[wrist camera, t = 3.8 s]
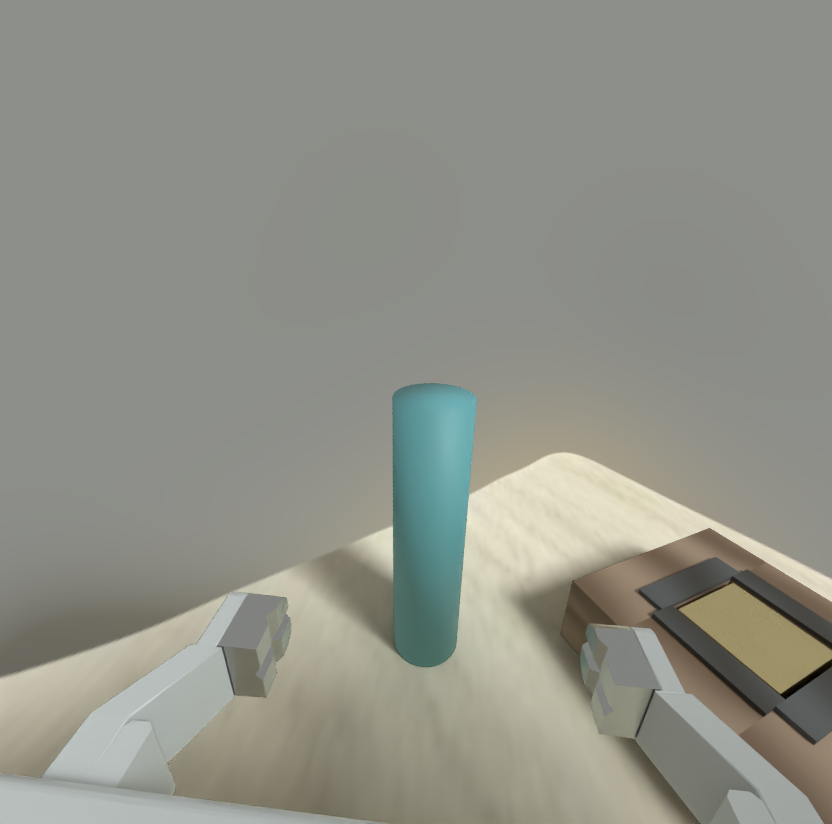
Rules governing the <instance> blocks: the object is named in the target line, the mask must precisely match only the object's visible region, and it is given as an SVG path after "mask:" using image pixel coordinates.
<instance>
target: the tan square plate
mask: <svg viewBox="0 0 832 824" xmlns="http://www.w3.org/2000/svg"><path fill="white" fill-rule="evenodd" d="M678 611H679V612H681V613H682V614H683V615H684V616H685V617H687V618H688V619H689V620H690V621H691V622H693V623H694V624H695V625H696V626H697V627H699V628H700V629H701V630H702V631H703V632H705V633H706V634H707V635H708V636H710V637H711V638H712V639H713V640H714V641H716V642H717V643H718V644H719V645H720V646H722V647H723V648H724V649H725V650H726V651H728V652H729V653H730V654H731V655H732V656H734V657H735V658H736V659H737V660H738V661H740V662H741V663H742V664H743V665H744V666H746V667H747V668H748V669H749V670H750V671H752V672H753V673H754V674H755V675H756V676H758V677H759V678H760V679H761V680H762V681H764V682H765V683H766V684H767V685H768V686H770V687H771V688H772V689H773V690H774V691H776V692H777V693H778V694H779V695H780V696H782V697H783V698H786V697H787V696H789V695H790V694H791V693H793V692H794V691H796V690H797V689H799V688H800V687H801V686H803V685H804V684H806V683H807V682H809V681H810V680H811V679H813V678H814V677H816V676H817V675H819V674H820V673H821V672H823V671H824V670H826V669H827V668H829V667H830V666H831V664H832V650H831V649H829V648H828V647H826V646H825V645H823V644H822V643H820V642H819V641H817V640H816V639H815V638H813V637H812V636H810V635H809V634H807V633H806V632H804V631H803V630H801V629H800V628H799V627H797V626H796V625H794V624H793V623H791V622H790V621H788V620H787V619H785V618H784V617H783V616H781V615H780V614H778V613H777V612H775V611H774V610H772V609H771V608H769V607H768V606H767V605H765V604H764V603H762V602H761V601H759V600H758V599H756V598H755V597H753V596H752V595H750V594H749V593H748V592H746V591H745V590H743V589H742V588H740V587H739V586H737V585H736V584H734V583H732V584H730V585H728V586H726V587H724V588H722V589H720V590H718V591H715V592H713V593H711V594H709V595H707V596H705V597H703V598H701V599H699V600H697V601H695V602H692V603H690V604H688V605H686V606H684V607H682V608H680V609H678Z"/></svg>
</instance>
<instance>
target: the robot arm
mask: <svg viewBox="0 0 832 824" xmlns="http://www.w3.org/2000/svg"><path fill="white" fill-rule="evenodd" d="M287 609H288V602H287V598H285V597H278V596H269V595H261V594H252V593H242V592H232V593H231V594H229V595H228V596H227V597H226V599H225V601H224V602H223V604H222V605H221V607H220V608H219V610H218V611H217V613H216V614H215V616H214V618H213V619H212V621H211V622H210V624H209V625H208V627H207V628H206V630H205V632H204V633H203V635H202V636H201V638H200V639H199V641H198V642H197V644H196V645H195V644H190V645H189V646H188V647H186V648H185V649H183V650H182V651H180V652H179V653H177V654H176V655H174V656H173V657H172V658H170V659H169V660H167V661H166V662H164V663H163V664H161V665H160V666H158V667H157V668H156V669H154V670H153V671H151V672H150V673H148V674H147V675H145V676H144V677H142V678H141V679H140V680H138V681H137V682H135V683H134V684H132V685H131V686H129V687H128V688H126V689H125V690H124V691H122V692H121V693H119V694H118V695H116V696H115V697H113V698H112V699H110V700H109V701H108V702H106V703H105V704H103V705H102V706H100V707H99V708H97V709H96V710H94V711H93V712H92V713H90V715H89V716H88V717H87V719H86V720H85V721H84V723H83V724H82V725H81V726H80V728H79V729H78V730H77V732H76V733H75V734H74V735H73V737H72V738H71V739H70V741H69V742H68V743H67V745H66V746H65V747H64V748H63V750H62V751H61V752H60V754H59V755H58V756H57V757H56V759H55V760H54V761H53V763H52V764H51V765H50V766H49V768H48V769H47V770H46V772H45V773H44V774H43V776H42V777H41V778H37V777H29V776H21V775H14V774H6V773H0V824H389V823H382V822H374V821H366V820H359V819H351V818H344V817H336V816H328V815H321V814H313V813H305V812H298V811H290V810H282V809H274V808H267V807H259V806H251V805H244V804H236V803H228V802H221V801H213V800H205V799H198V798H190V797H182V796H175V795H173V794H174V792H175V790H176V787H175V782H174V779H173V777H172V774H171V772H170V770H169V767H168V765H167V763H168V762H169V761H170V760H171V759H173V758H174V757H175V756H176V755H177V754H178V753H179V752H180V751H181V750H182V749H183V748H184V747H185V746H186V745H187V744H188V743H189V742H190V741H191V740H192V739H193V738H194V737H195V736H196V735H197V734H198V733H199V732H200V731H201V730H202V729H203V728H204V727H205V726H206V725H207V724H208V723H209V722H210V721H211V720H212V719H213V718H214V717H215V716H216V715H217V714H218V713H219V712H220V711H221V710H222V709H223V708H224V707H225V706H226V705H227V704H228V703H229V702H230V701H231V700H232V699H233V698H234V695H238V696H251V697H264V698H266V697H267V695H268V693H269V690H270V688H271V685H272V683H273V681H274V678H275V676H276V673H277V669H276V662H277V661H278V660H279V659H280V658H282V657H283V656H284V654H285V651H286V649H287V646H288V643H289V639H290V634H291V620H290V618H289V617H288V615H287V614H286V611H287ZM585 634H586V637H587V640H588V641H587V642H586V643H585V644H583V645H582V649H581V654H580V664H581V672H582V677H583V680H584V684H585V686H586V687H587V688H588V690H589V691H590V692H591V693H592V694H593V697H592V700H591V704H590V705H591V708H592V712H593V715H594V718H595V722H596V725H597V729H598V732H599V734H604V735H611V736H618V737H625V738H632V739H636V742H637V744H638V745H639V746H640V747H641V749H642V750H643V751H644V752H645V754H646V755H647V756H648V758H649V759H650V760H651V761H652V763H653V764H654V765H655V766H656V768H657V769H658V770H659V772H660V773H661V774H662V775H663V777H664V778H665V779H666V780H667V782H668V783H669V784H670V786H671V787H672V788H673V789H674V791H675V792H676V793H677V795H678V796H679V797H680V798H681V800H682V801H683V802H684V803H685V805H686V806H687V807H688V809H689V810H690V811H691V812H692V814H693V815H694V816H695V817H696V819H697V820H698V821H699V823H700V824H824V823H823V821H822V820H821V818H820V817H819V815H818V813H817V812H816V810H815V809H814V807H813V805H812V804H811V802H810V801H809V799H808V797H807V796H806V795H804V794H803V793H802V792H801V791H800V790H799V789H798V788H797V787H795V786H794V785H793V784H792V783H791V782H790V781H789V780H788V779H787V778H785V777H784V776H783V775H782V774H781V773H780V772H779V771H778V770H776V769H775V768H774V767H773V766H772V765H771V764H770V763H769V762H767V761H766V760H765V759H764V758H763V757H762V756H761V755H760V754H759V753H757V752H756V751H755V750H754V749H753V748H752V747H751V746H750V745H748V744H747V743H746V742H745V741H744V740H743V739H742V738H741V737H739V736H738V735H737V734H736V733H735V732H734V731H733V730H732V729H731V728H729V727H728V726H727V725H726V724H725V723H724V722H723V721H722V720H720V719H719V718H718V717H717V716H716V715H715V714H714V713H713V712H711V711H710V710H709V709H708V708H707V707H706V706H705V705H704V704H703V703H701V702H700V701H699V700H698V699H697V698H696V697H695V696H694V695H692V694H687V693H685V691H684V689H683V687H682V685H681V683H680V681H679V679H678V677H677V676H676V674H675V672H674V670H673V668H672V666H671V664H670V662H669V660H668V658H667V656H666V654H665V652H664V650H663V648H662V646H661V644H660V642H659V640H658V638H657V636H656V634H655V633H654V632H653V631H652V630H651V629H648V628H637V627H628V626H617V625H603V624H589V625H588V626H587V629H586V633H585Z"/></svg>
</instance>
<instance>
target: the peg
mask: <svg viewBox="0 0 832 824" xmlns="http://www.w3.org/2000/svg"><path fill="white" fill-rule="evenodd" d="M476 401H477V399H476V397H475V395H474V394H473V393H471V392H470V391H468V390H466V389H463V388H461V387H457V386H452V385H446V384H436V383H429V384H427V383H426V384H415V385H410V386H406V387H403V388H401V389H399V390H397V391H396V392H395V393H394V394H393V602H394V644H395V647H396V649H397V651H398V653H399V654H400V655H401V657H402V658H403V659H405V660H406V661H407V662H409V663H411V664H413V665H416V666H420V667H432V666H436V665H439V664H441V663H443V662H445V661H446V660H447V659H448V658H449V657H450V656H451V655H452V653H453V652H454V649H455V646H456V640H457V628H458V617H459V605H460V593H461V581H462V569H463V557H464V545H465V533H466V521H467V509H468V497H469V485H470V473H471V460H472V450H473V449H472V448H473V438H474V426H475V413H476Z"/></svg>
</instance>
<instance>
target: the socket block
mask: <svg viewBox="0 0 832 824" xmlns="http://www.w3.org/2000/svg"><path fill="white" fill-rule="evenodd" d="M732 583H734V584H736V585H737V586H739V587H740V588H742V589H743V590H745V591H746V592H748V593H749V594H750V595H752V596H753V597H755V598H756V599H758V600H759V601H761V602H762V603H764V604H765V605H767V606H768V607H769V608H771V609H772V610H774V611H775V612H777V613H778V614H780V615H781V616H783V617H784V618H785V619H787V620H788V621H790V622H791V623H793V624H794V625H796V626H797V627H799V628H800V629H801V630H803V631H804V632H806V633H807V634H809V635H810V636H812V637H813V638H815V639H816V640H817V641H819V642H820V643H822V644H823V645H825V646H826V647H828V648H829V649H831V650H832V602H831V601H829V600H827V599H826V598H824V597H822V596H821V595H819V594H817V593H816V592H814V591H812V590H811V589H809V588H807V587H806V586H804V585H803V584H801V583H799V582H798V581H796V580H794V579H793V578H791V577H789V576H788V575H786V574H784V573H783V572H781V571H779V570H778V569H776V568H775V567H773V566H771V565H770V564H768V563H766V562H765V561H763V560H761V559H760V558H758V557H756V556H755V555H753V554H751V553H750V552H748V551H747V550H745V549H743V548H742V547H740V546H738V545H737V544H735V543H733V542H732V541H730V540H728V539H727V538H725V537H723V536H722V535H720V534H719V533H717V532H715V531H714V530H712V529H710V528H708V529H706V530H703V531H701V532H698V533H695V534H693V535H690V536H688V537H685V538H682V539H680V540H677V541H675V542H672V543H669V544H667V545H664V546H662V547H659V548H656V549H654V550H651V551H649V552H646V553H643V554H641V555H638V556H636V557H633V558H630V559H628V560H625V561H623V562H620V563H617V564H615V565H612V566H609V567H607V568H604V569H602V570H599V571H596V572H594V573H591V574H589V575H586V576H583V577H581V578H578V579H576V580H573V581H572V586H571V590H570V594H569V599H568V603H567V608H566V612H565V616H564V621H563V625H562V629H561V635H562V636H563V637H564V638H565V639H566V641H567V642H568V643H569V644H570V645H571V647H572V648H573V649H574V650H575V651H576V652H577V654H578V655H579V656H580V654H581V649H582V645H583V644H585V643H586V642H587V641H588V640H587V637H586V634H585V633H586V629H587V626H588V625H589V624H603V625H617V626H628V627H637V628H648V629H651V630H652V631H653V632H654V633H655V634H656V636H657V638H658V640H659V642H660V644H661V646H662V648H663V650H664V652H665V654H666V656H667V658H668V660H669V662H670V664H671V666H672V668H673V670H674V672H675V674H676V676H677V677H678V679H679V681H680V683H681V685H682V687H683V689H684V691H685V693H687V694H692V695H694V696H695V697H696V698H697V699H698V700H699V701H700V702H701V703H703V704H704V705H705V706H706V707H707V708H708V709H709V710H710V711H711V712H713V713H714V714H715V715H716V716H717V717H718V718H719V719H720V720H722V721H723V722H724V723H725V724H726V725H727V726H728V727H729V728H731V729H732V730H733V731H734V732H735V733H736V734H737V735H738V736H739V737H741V738H742V739H743V740H744V741H745V742H746V743H747V744H748V745H750V746H751V747H752V748H753V749H754V750H755V751H756V752H757V753H759V754H760V755H761V756H762V757H763V758H764V759H765V760H766V761H767V762H769V763H770V764H771V765H772V766H773V767H774V768H775V769H776V770H778V771H779V772H780V773H781V774H782V775H783V776H784V777H785V778H787V779H788V780H789V781H790V782H791V783H792V784H793V785H794V786H795V787H797V788H798V789H799V790H800V791H801V792H802V793H803V794H804V795H806V796H807V797H808V799H809V801H810V802H811V804H812V805H813V807H814V809H815V810H816V812H817V813H818V815H819V817H820V818H821V820H822V821H823V823H824V824H832V664H831V666H830V667H829V668H827V669H826V670H824V671H823V672H821V673H820V674H819V675H817V676H816V677H814V678H813V679H811V680H810V681H809V682H807V683H806V684H804V685H803V686H801V687H800V688H799V689H797V690H796V691H794V692H793V693H791V694H790V695H789V696H787V697H788V698H787V699H784V698H783V697H782V696H780V695H779V694H778V693H777V692H776V691H774V690H773V689H772V688H771V687H770V686H768V685H767V684H766V683H765V682H764V681H762V680H761V679H760V678H759V677H758V676H756V675H755V674H754V673H753V672H752V671H750V670H749V669H748V668H747V667H746V666H744V665H743V664H742V663H741V662H740V661H738V660H737V659H736V658H735V657H734V656H732V655H731V654H730V653H729V652H728V651H726V650H725V649H724V648H723V647H722V646H720V645H719V644H718V643H717V642H716V641H714V640H713V639H712V638H711V637H710V636H708V635H707V634H706V633H705V632H703V631H702V630H701V629H700V628H699V627H697V626H696V625H695V624H694V623H693V622H691V621H690V620H689V619H688V618H687V617H685V616H684V615H683V614H682V613H681V612H679V611H678V609H680V608H682V607H684V606H686V605H688V604H690V603H692V602H695V601H697V600H699V599H701V598H703V597H705V596H707V595H709V594H711V593H713V592H715V591H718V590H720V589H722V588H724V587H726V586H728V585H730V584H732Z"/></svg>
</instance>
